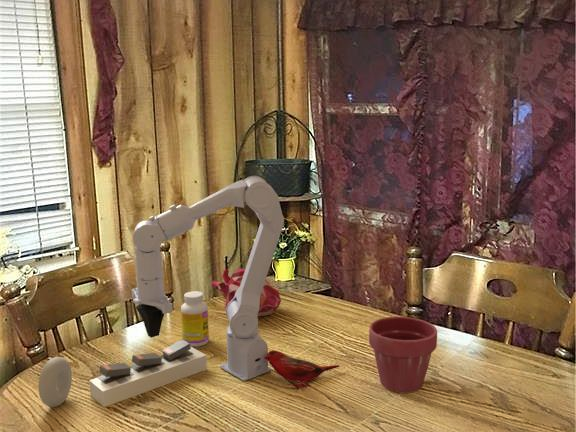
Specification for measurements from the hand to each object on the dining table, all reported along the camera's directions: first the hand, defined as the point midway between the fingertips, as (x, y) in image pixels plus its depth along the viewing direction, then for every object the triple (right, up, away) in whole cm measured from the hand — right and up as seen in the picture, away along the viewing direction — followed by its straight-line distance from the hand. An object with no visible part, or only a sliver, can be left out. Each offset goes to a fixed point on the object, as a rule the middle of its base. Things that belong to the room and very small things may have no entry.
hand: (153, 335), depth 137 cm
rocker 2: (-1, -5, 0) cm, 5 cm away
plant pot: (+54, -10, -2) cm, 55 cm away
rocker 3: (+4, -4, +5) cm, 7 cm away
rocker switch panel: (-1, -10, 0) cm, 10 cm away
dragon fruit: (+17, -2, +39) cm, 43 cm away
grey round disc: (-18, -13, -9) cm, 24 cm away
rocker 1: (-7, -6, -5) cm, 11 cm away
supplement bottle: (+6, -6, +21) cm, 22 cm away
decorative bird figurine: (+34, -10, -4) cm, 36 cm away
